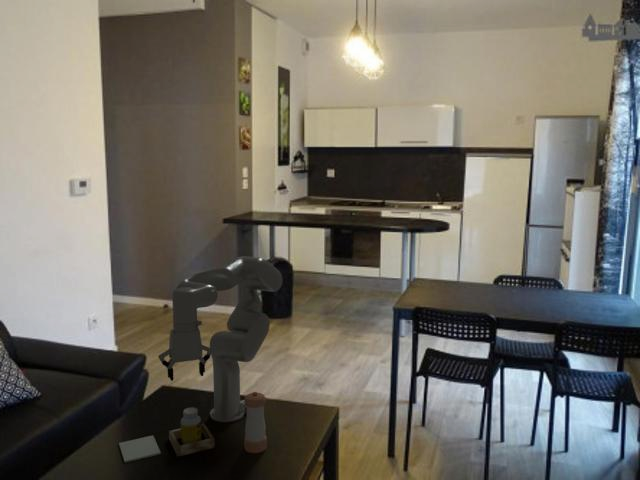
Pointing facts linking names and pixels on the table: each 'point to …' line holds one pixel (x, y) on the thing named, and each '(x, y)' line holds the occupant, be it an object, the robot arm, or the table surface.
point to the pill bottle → (190, 426)
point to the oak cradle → (191, 446)
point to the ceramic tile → (139, 448)
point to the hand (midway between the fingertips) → (186, 376)
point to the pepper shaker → (255, 423)
